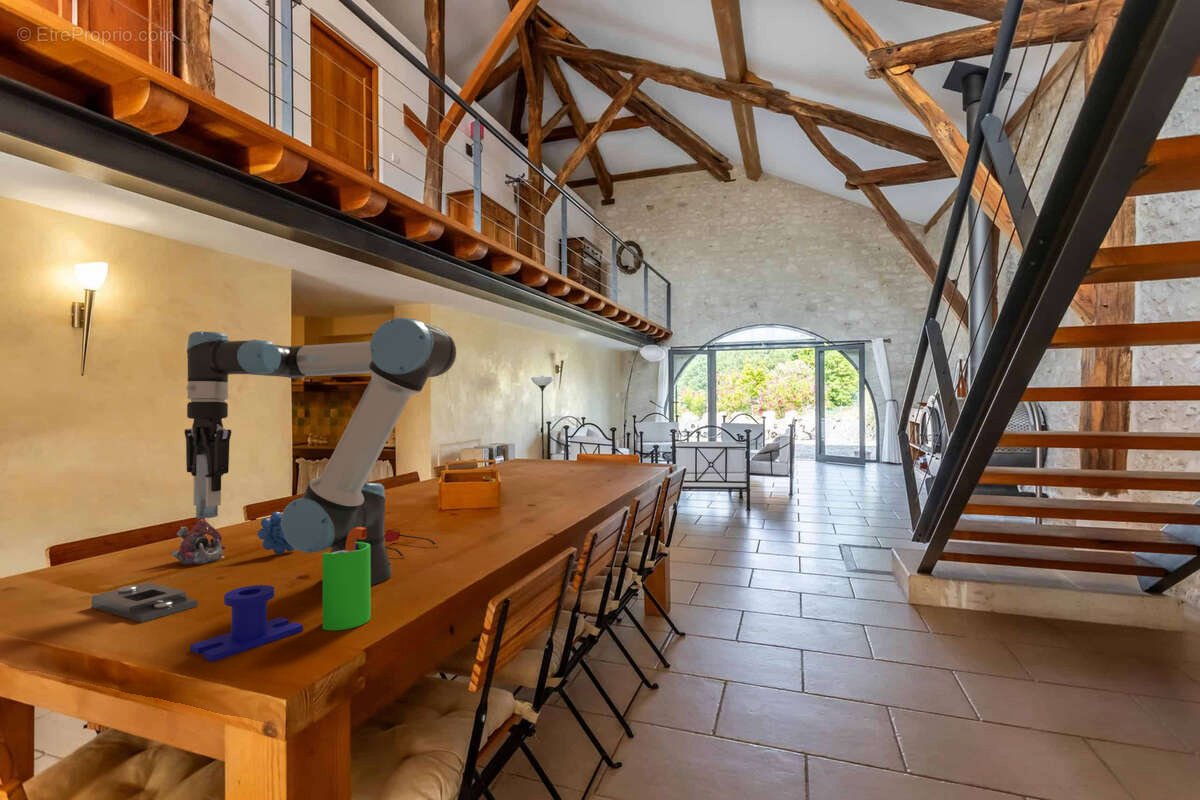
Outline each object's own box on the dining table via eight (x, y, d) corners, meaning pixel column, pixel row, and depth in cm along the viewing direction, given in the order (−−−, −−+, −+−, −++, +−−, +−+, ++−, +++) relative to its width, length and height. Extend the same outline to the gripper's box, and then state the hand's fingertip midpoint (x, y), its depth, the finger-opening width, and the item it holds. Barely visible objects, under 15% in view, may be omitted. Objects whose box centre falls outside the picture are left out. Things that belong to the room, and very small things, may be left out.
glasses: (397, 542, 172) (397, 526, 172) (439, 549, 165) (440, 532, 165) (360, 553, 159) (360, 535, 159) (404, 560, 152) (404, 542, 152)
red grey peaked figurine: (200, 559, 142) (179, 519, 144) (173, 582, 144) (153, 543, 146) (240, 548, 152) (220, 511, 155) (215, 570, 155) (195, 534, 157)
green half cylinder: (335, 612, 112) (336, 522, 113) (376, 611, 113) (378, 522, 113) (316, 631, 103) (317, 532, 103) (361, 629, 104) (362, 532, 104)
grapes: (263, 561, 149) (264, 516, 149) (253, 556, 153) (254, 512, 153) (308, 552, 158) (309, 510, 158) (298, 548, 162) (299, 507, 162)
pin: (221, 515, 127) (222, 454, 127) (202, 519, 123) (203, 455, 124) (210, 514, 129) (211, 453, 129) (191, 517, 125) (192, 454, 125)
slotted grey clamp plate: (197, 606, 115) (197, 591, 115) (140, 622, 106) (141, 606, 106) (148, 593, 123) (148, 579, 123) (91, 607, 114) (91, 592, 114)
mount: (211, 663, 90) (212, 608, 91) (190, 652, 94) (191, 599, 95) (302, 632, 103) (303, 584, 103) (280, 623, 107) (281, 577, 107)
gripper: (167, 401, 127) (166, 505, 126) (213, 400, 120) (212, 510, 119) (202, 401, 134) (202, 500, 133) (248, 400, 126) (247, 505, 126)
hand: (207, 504), depth 126 cm, fingers closed on pin, 4 cm apart
